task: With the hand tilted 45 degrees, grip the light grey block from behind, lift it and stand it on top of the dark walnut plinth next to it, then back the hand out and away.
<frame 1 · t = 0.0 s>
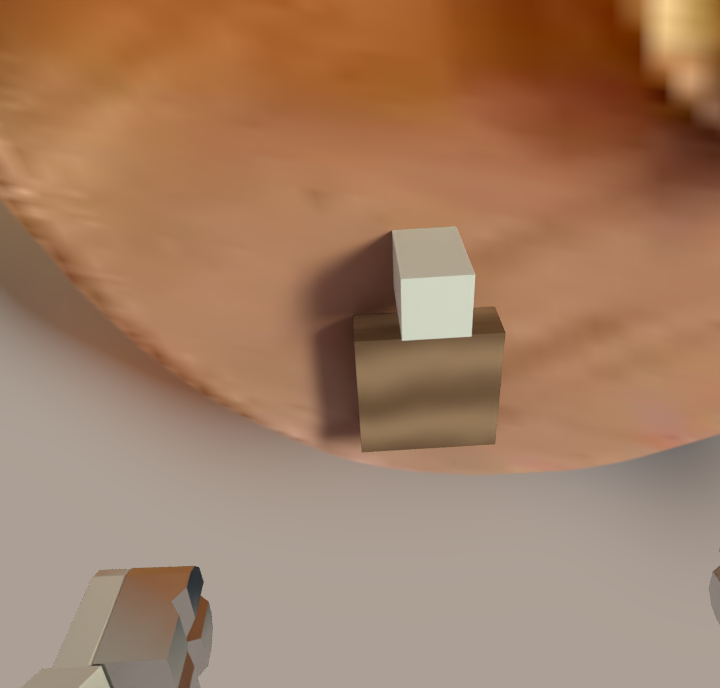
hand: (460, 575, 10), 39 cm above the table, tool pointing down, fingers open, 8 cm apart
walnut plinth: (423, 368, 56), on the table
light grey block: (424, 257, 50), on the table
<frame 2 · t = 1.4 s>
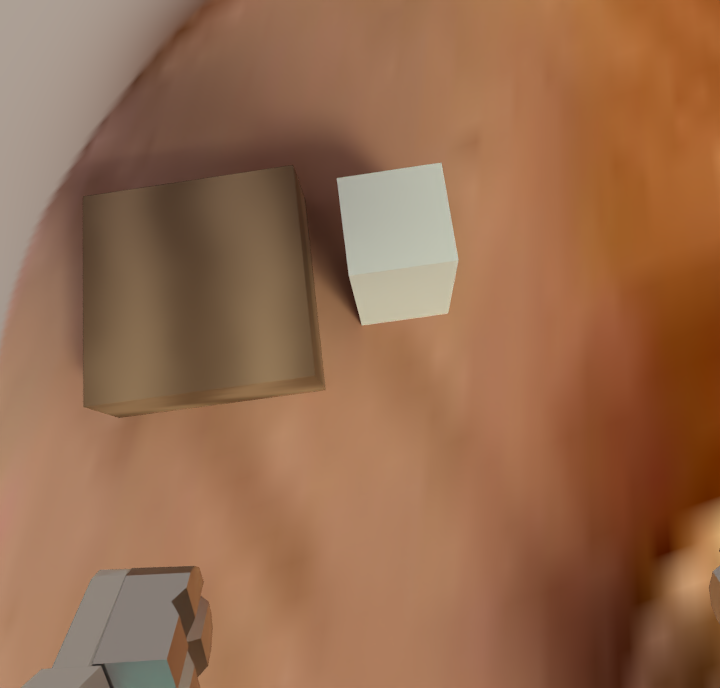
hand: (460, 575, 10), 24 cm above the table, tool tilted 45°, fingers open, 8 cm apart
walnut plinth: (215, 304, 37), on the table
light grey block: (398, 279, 36), on the table
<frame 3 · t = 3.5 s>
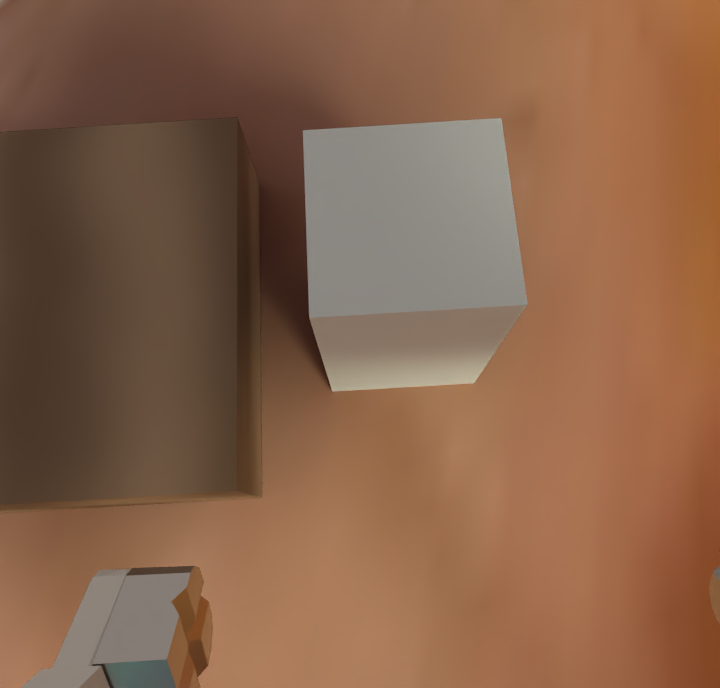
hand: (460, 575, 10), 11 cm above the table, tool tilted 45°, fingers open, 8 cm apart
walnut plinth: (96, 337, 23), on the table
light grey block: (397, 320, 23), on the table
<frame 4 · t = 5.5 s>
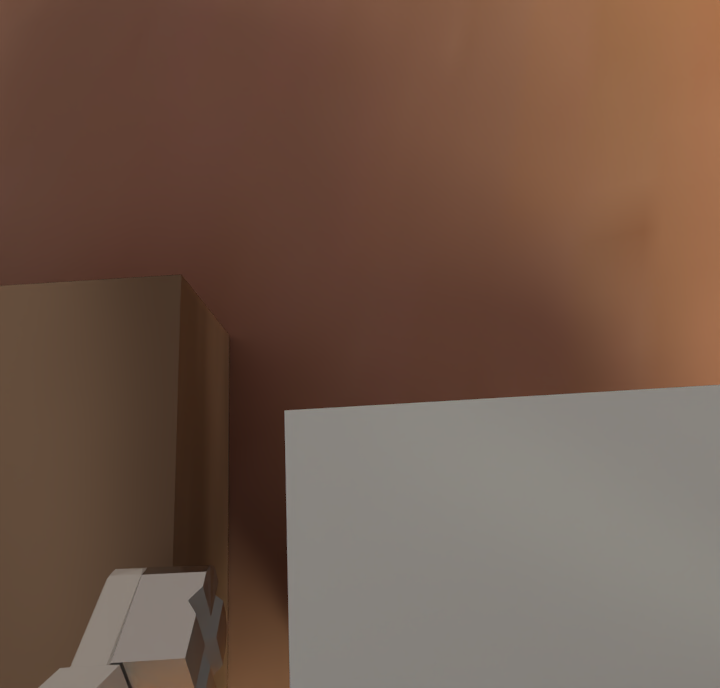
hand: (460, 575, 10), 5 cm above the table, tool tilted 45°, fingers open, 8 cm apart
light grey block: (448, 575, 14), on the table
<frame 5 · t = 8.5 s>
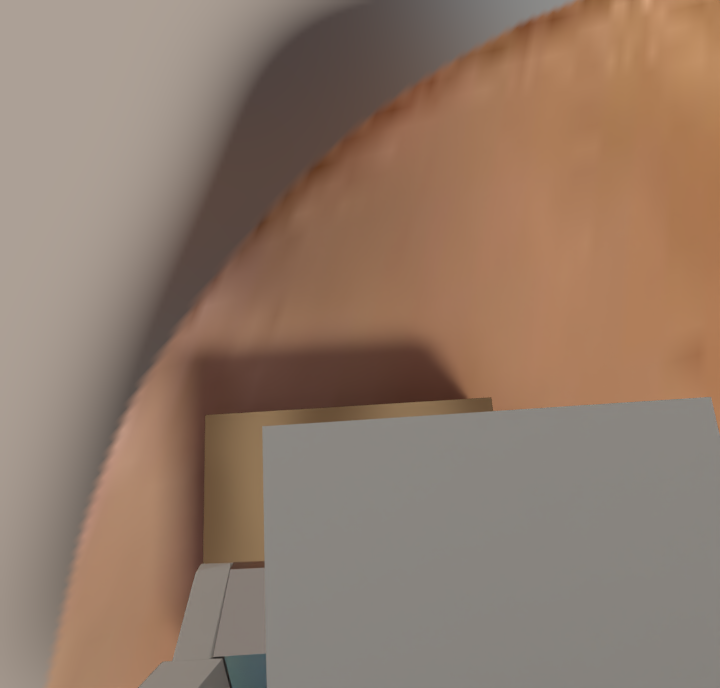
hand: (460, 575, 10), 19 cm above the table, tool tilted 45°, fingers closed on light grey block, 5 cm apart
walnut plinth: (359, 552, 28), on the table
light grey block: (438, 586, 14), point 15 cm above the table, touching gripper
when the fingers open (10 cm above the table, at t = 11.2 s): light grey block drops 1 cm, resting on walnut plinth.
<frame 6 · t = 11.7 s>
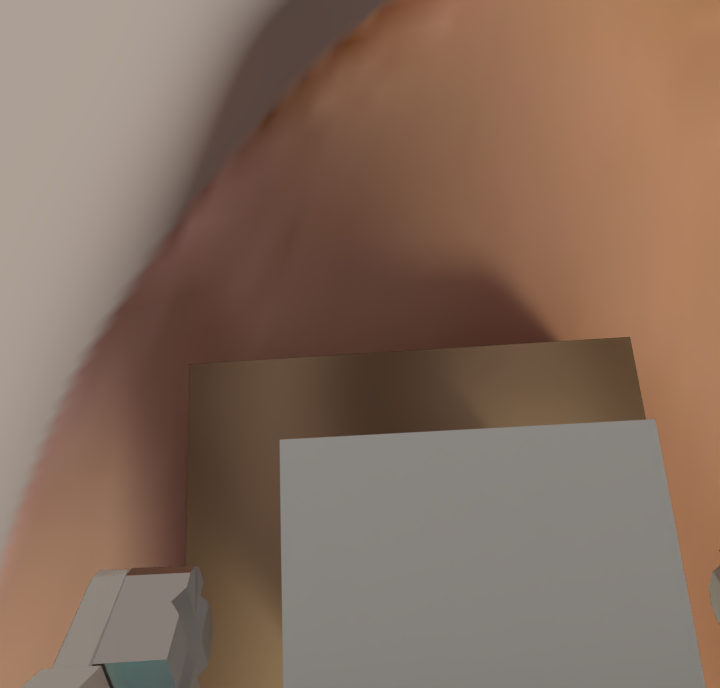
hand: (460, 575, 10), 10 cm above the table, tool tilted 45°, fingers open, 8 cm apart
walnut plinth: (418, 574, 19), on the table
light grey block: (430, 580, 15), point 4 cm above the table, touching walnut plinth
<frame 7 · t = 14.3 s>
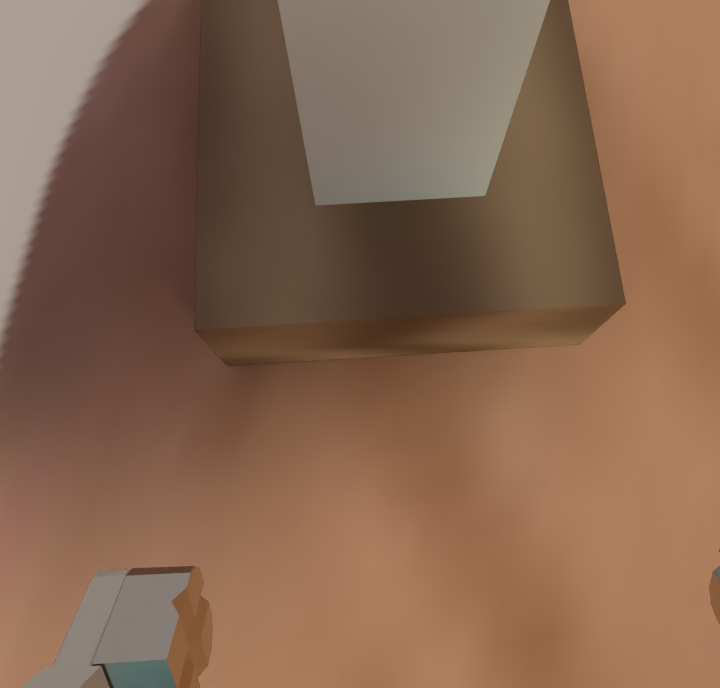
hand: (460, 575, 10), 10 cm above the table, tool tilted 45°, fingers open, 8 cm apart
walnut plinth: (390, 197, 23), on the table
light grey block: (394, 127, 19), point 4 cm above the table, touching walnut plinth
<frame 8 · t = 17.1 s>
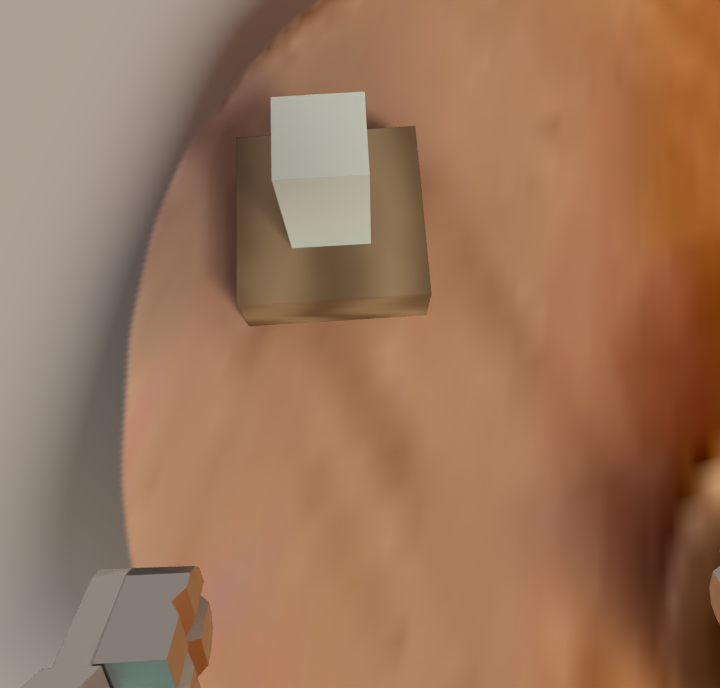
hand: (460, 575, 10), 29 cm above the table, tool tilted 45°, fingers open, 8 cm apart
walnut plinth: (333, 239, 44), on the table
light grey block: (329, 210, 40), point 4 cm above the table, touching walnut plinth
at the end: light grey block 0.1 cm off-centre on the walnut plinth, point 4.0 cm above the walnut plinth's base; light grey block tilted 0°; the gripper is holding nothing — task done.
